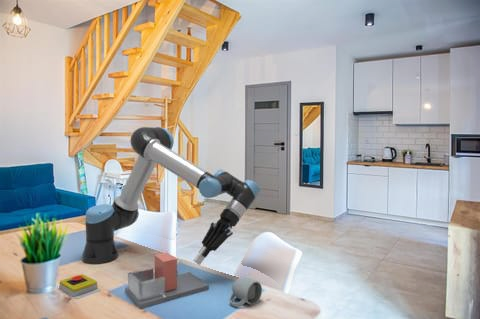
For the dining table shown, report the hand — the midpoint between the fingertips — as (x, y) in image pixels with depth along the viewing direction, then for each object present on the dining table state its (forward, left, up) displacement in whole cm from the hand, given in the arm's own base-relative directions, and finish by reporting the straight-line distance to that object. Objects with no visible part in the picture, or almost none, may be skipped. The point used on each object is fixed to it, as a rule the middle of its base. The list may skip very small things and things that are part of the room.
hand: (196, 262), depth 136 cm
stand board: (-1, -11, -8) cm, 14 cm away
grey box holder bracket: (-1, -19, -7) cm, 21 cm away
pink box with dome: (-1, -12, -6) cm, 13 cm away
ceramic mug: (+22, +7, -9) cm, 24 cm away
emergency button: (-20, -37, -9) cm, 43 cm away
